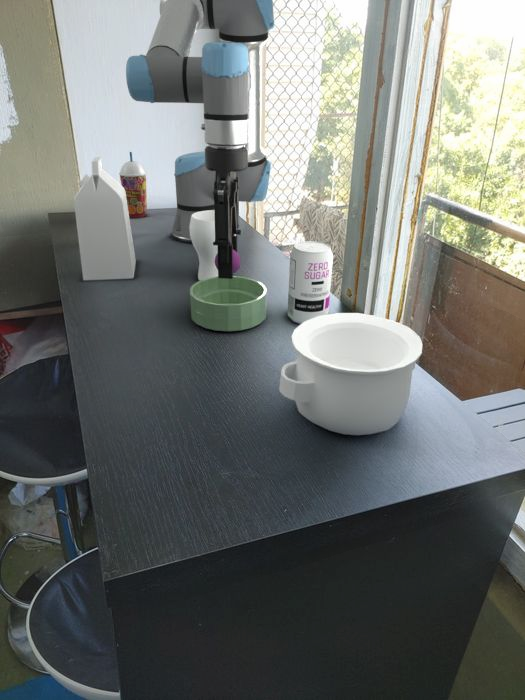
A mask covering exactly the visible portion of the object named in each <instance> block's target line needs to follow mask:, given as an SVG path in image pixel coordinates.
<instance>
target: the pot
mask: <svg viewBox="0 0 525 700" xmlns="http://www.w3.org/2000/svg"><path fill="white" fill-rule="evenodd" d="M290 339H291V344H292V347H293V349H294V350H295V352H296V353H297V355H296V360H294V361H290V362H287V363H285V364H284V365H283V366H282V367H281V373H280V380H279V387H278V391H279V392H280V394H281V395H282V396H283V397H285V398H287V399H289V400H292V401H295V405H296V408H297V411H298V413H300V414H301V416H303V417H304V418H305V419H307V420H308V421H310V422H311V423H313V424H315V425H317V426H319V427H321V428H323V429H325V430H328V431H330V432H333V433H337V434H341V435H347V436H348V435H349V436H364V435H365V436H366V435H373V434H374V435H375V434H377V433H382V432H386V431H388V430H390V429H391V428H393V427H394V426H395V425H396V424H397V423H398V422H399V421H400V419H402V416H403V414H404V413H405V410H406V409H407V406H408V404H409V401H410V400H409V399H410V394H411V387H412V378H413V371H414V370H415V369H416V362H417V361H418V360H419V358H420V357H421V356H422V354H423V346H424V345H423V342H422V339H421V337H420V336H419V334H417V333H416V332H415V331H414V330H413V329H412V328H411V327H409V326H407V325H405V324H403V323H400V322H398V321H395V320H392V319H388V318H385V317H381V316H378V315H375V314H374V315H373V314H366V313H361V312H335V313H334V312H333V313H328V315H321V316H317V317H315V318H312V319H310V320H307V321H305V322H303V323H302V324H299V325H298V326H297V327H295V329H293V332H292V334H291V338H290Z"/></svg>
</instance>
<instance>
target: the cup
mask: <svg viewBox="0 0 525 700" xmlns="http://www.w3.org/2000/svg"><path fill="white" fill-rule="evenodd" d="M189 229H190V237H191V240H192V243H191V244H192V246H193V248H194V250H195V251H196V253H197V256H198V257H197V258H198V263H199V265H198V271H197V279H198V281H201V280H203V279H206V278H211V277H217V276H218V269H217V268H216V266H215V257H216V255H217V253H218V245H213V242H215V211H214V210H208V211H200V212H196V213H194V214H192V216H191V220H190V226H189ZM235 236H237V235H236V234H235Z"/></svg>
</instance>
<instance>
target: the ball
mask: <svg viewBox="0 0 525 700" xmlns="http://www.w3.org/2000/svg"><path fill="white" fill-rule="evenodd" d="M241 264H242V261H241V257H240V254H239V253H238V251H237V252H236V251H235V250H233V274H235V273H236V272H238V270H239V269H240V267H241ZM215 266H216V268H217V269H218V253H217V255H216V257H215Z"/></svg>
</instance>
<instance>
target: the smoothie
mask: <svg viewBox="0 0 525 700" xmlns="http://www.w3.org/2000/svg"><path fill="white" fill-rule="evenodd" d="M119 179H120V184H121V185H122V186H123V188H124V189H125V193H126V199H127V206H128V212H129V218H135V219H137V218H143V217H145V216H146V213H147V212H148V203H147V172H146V170H145V168H144V167H143V166H142V164H141V163H139V162H137V161H134V160H133V152H132V151H129V161H127V162H125V163H123V165H122V166H121V169H120V172H119Z"/></svg>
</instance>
